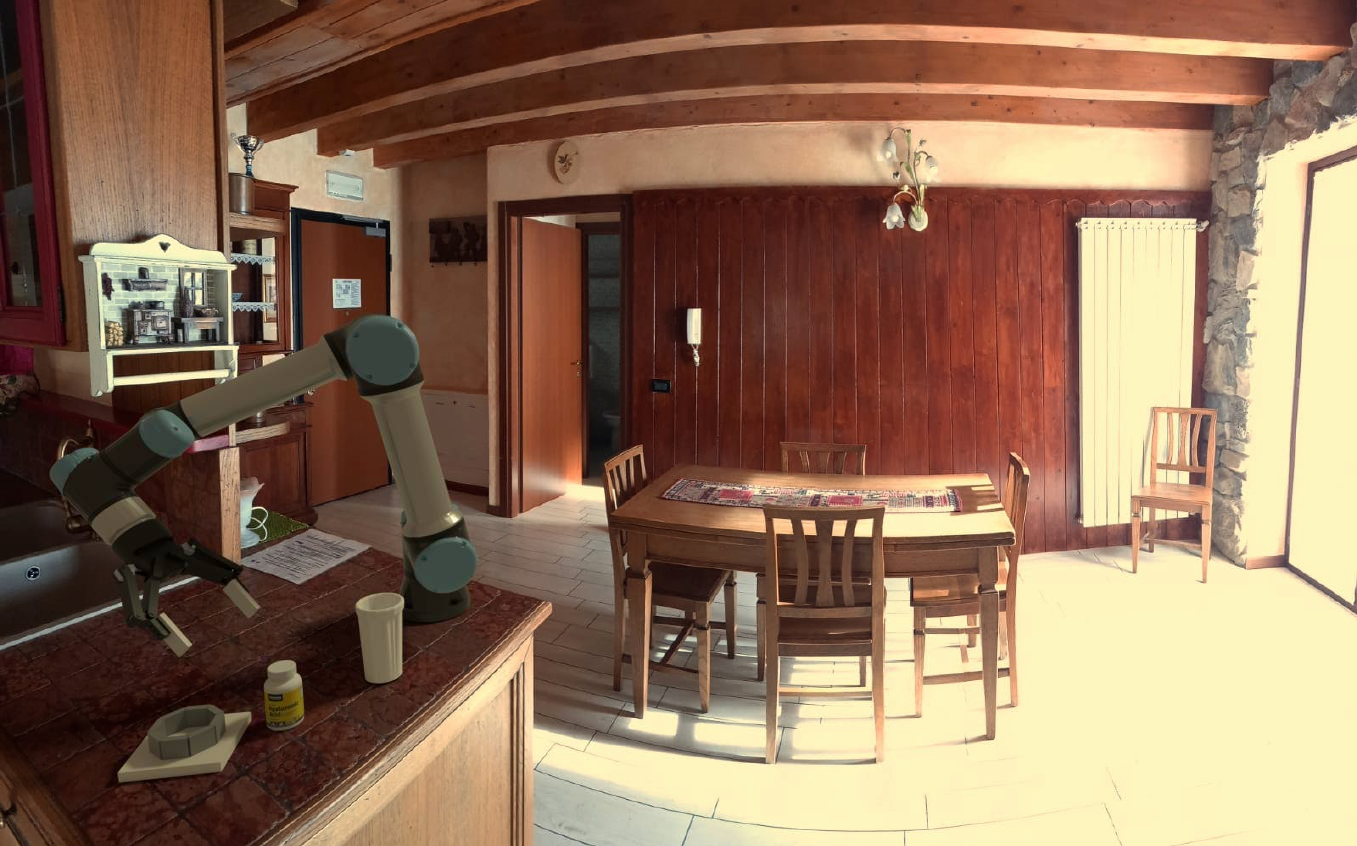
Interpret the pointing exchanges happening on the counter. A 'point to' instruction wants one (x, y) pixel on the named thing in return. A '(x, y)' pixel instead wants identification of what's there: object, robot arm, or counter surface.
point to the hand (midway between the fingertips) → (222, 631)
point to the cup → (381, 635)
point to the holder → (186, 744)
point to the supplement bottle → (283, 696)
